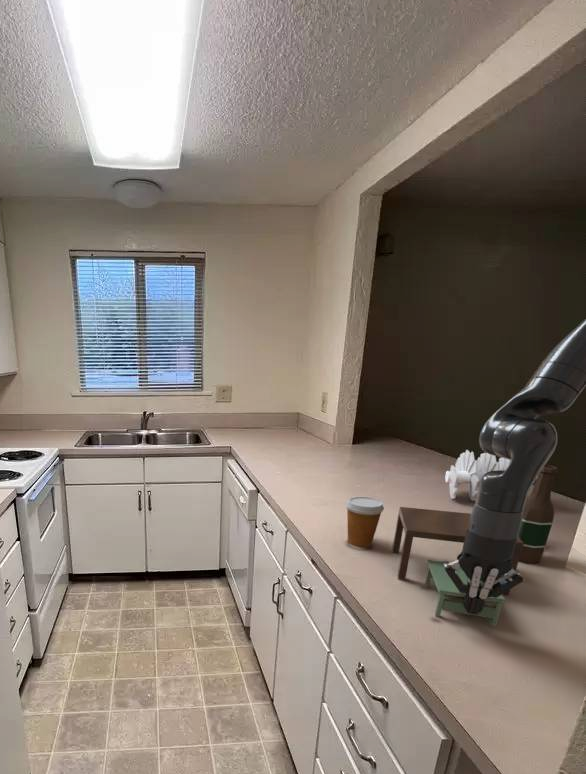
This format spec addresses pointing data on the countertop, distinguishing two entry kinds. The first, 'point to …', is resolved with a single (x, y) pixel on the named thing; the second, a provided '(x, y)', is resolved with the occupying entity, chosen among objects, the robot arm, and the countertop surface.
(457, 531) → the side table
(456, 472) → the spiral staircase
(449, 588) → the stool
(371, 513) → the disposable coffee cup
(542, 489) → the beer bottle
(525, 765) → the countertop surface
